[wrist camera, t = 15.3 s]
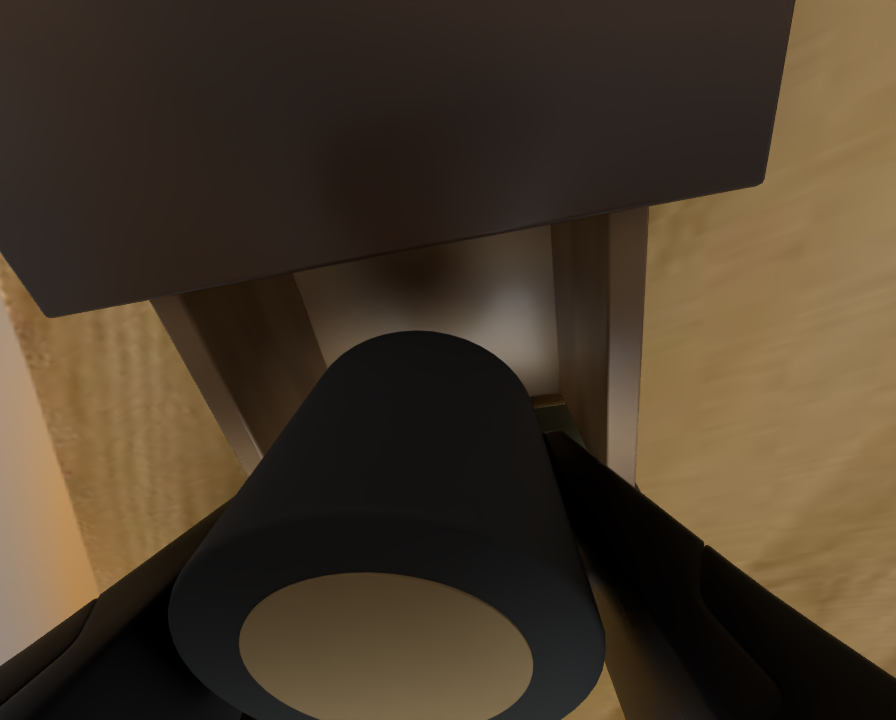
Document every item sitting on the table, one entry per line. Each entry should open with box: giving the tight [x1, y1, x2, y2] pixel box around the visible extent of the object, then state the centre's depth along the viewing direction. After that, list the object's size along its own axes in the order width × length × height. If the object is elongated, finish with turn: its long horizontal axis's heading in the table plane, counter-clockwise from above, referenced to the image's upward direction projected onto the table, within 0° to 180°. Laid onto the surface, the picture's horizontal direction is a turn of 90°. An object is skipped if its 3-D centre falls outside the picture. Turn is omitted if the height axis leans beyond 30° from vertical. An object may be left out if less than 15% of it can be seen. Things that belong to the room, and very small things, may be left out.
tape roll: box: [168, 330, 606, 720], centre depth 7 cm, size 6×6×5 cm
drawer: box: [150, 206, 649, 492], centre depth 13 cm, size 17×12×7 cm
